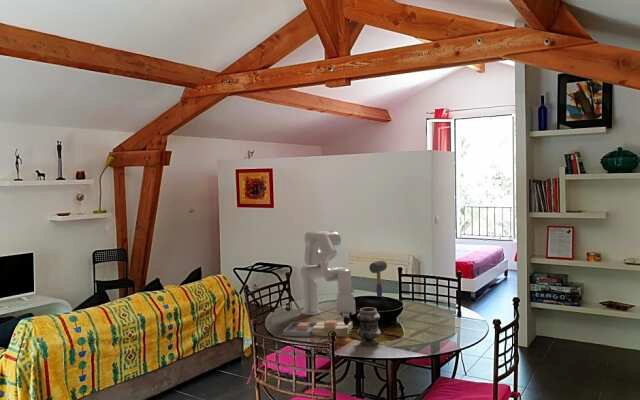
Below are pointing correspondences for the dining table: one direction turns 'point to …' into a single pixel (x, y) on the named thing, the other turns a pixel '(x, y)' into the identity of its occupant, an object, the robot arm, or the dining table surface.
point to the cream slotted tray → (332, 329)
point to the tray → (292, 331)
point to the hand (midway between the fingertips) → (346, 324)
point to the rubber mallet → (378, 274)
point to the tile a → (303, 326)
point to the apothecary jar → (368, 326)
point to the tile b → (330, 324)
